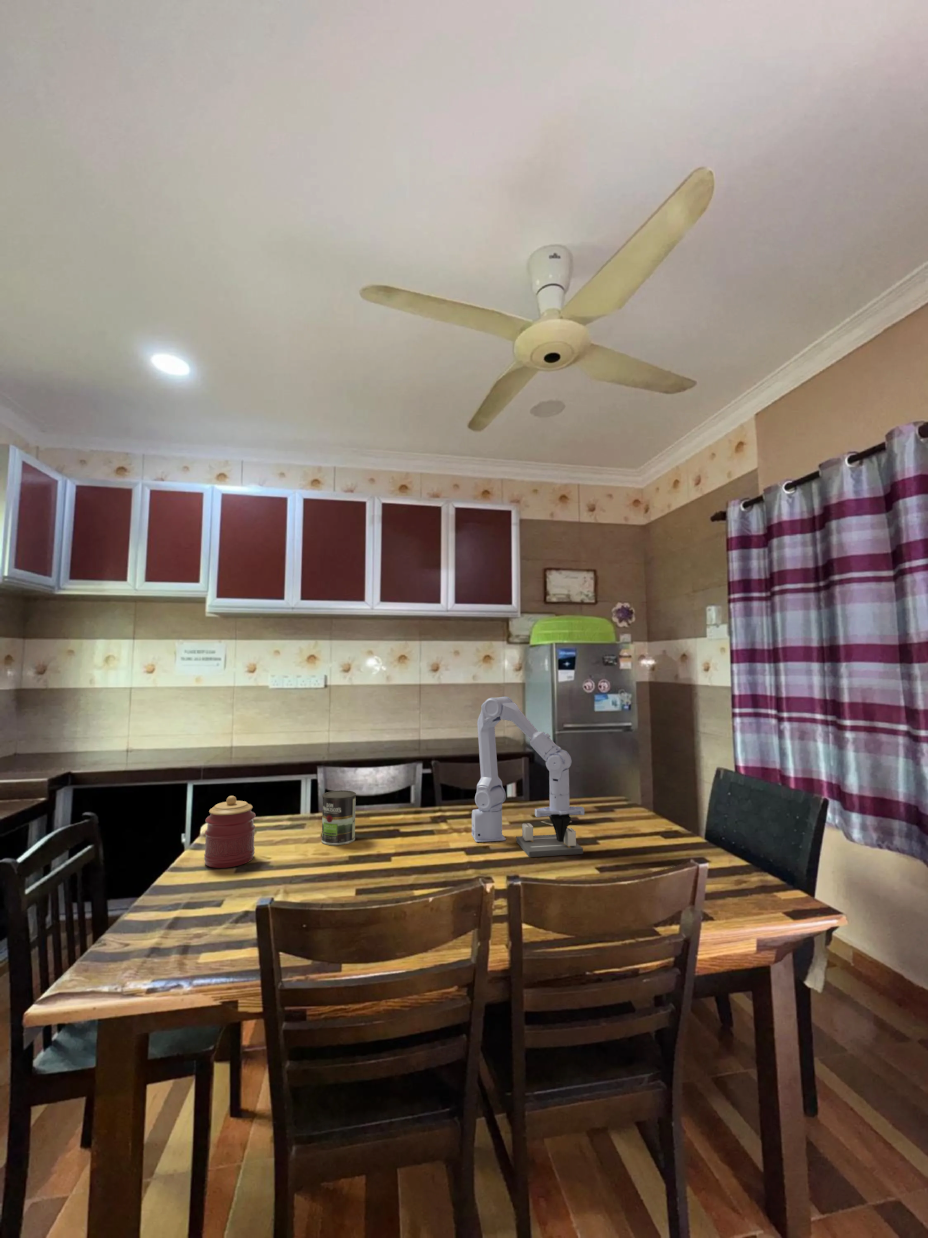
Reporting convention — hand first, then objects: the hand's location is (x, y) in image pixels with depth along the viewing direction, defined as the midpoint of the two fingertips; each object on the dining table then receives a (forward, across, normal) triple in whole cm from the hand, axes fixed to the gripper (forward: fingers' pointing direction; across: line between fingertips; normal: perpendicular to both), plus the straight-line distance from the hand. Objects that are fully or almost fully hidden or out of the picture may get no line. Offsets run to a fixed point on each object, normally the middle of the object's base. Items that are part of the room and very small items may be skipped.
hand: (560, 840), depth 162 cm
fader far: (+1, -8, +7) cm, 11 cm away
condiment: (+3, +9, +28) cm, 30 cm away
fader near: (+1, +3, 0) cm, 3 cm away
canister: (+3, -93, +9) cm, 94 cm away
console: (+3, -2, +4) cm, 5 cm away
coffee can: (+3, -64, +22) cm, 68 cm away
